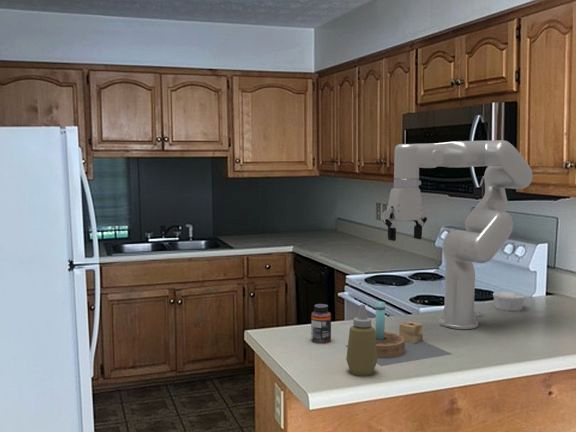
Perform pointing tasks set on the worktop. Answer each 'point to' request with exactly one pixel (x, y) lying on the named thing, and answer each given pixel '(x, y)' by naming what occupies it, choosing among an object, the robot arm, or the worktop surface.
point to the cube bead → (411, 332)
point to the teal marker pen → (380, 320)
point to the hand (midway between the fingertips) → (404, 239)
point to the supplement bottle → (321, 324)
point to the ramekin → (508, 300)
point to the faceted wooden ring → (390, 346)
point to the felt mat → (414, 353)
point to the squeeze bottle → (362, 345)
